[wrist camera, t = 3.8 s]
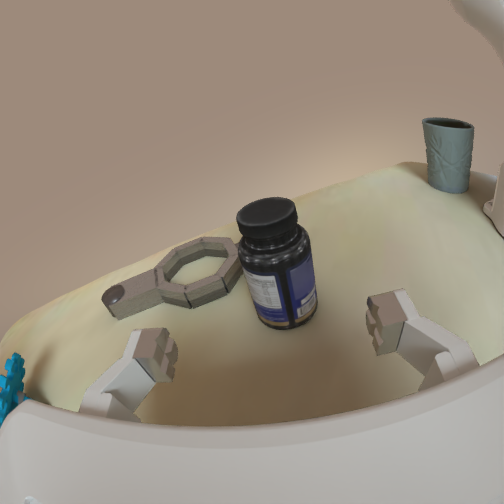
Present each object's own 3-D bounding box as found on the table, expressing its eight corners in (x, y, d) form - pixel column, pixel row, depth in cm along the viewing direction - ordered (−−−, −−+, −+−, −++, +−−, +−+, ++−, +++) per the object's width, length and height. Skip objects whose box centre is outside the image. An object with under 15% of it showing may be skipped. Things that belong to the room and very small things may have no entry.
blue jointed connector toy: (20, 368, 24) (7, 335, 19) (57, 384, 26) (54, 357, 21) (4, 440, 16) (-18, 429, 11) (45, 458, 18) (35, 455, 13)
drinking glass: (479, 189, 37) (483, 127, 31) (451, 200, 37) (454, 129, 30) (443, 171, 46) (443, 116, 39) (413, 180, 45) (411, 118, 38)
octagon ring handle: (276, 223, 42) (272, 208, 41) (313, 257, 33) (311, 239, 32) (113, 289, 37) (105, 275, 36) (109, 340, 29) (98, 326, 27)
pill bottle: (306, 281, 30) (291, 186, 24) (327, 320, 25) (317, 214, 19) (252, 298, 30) (223, 205, 24) (264, 340, 25) (231, 239, 19)
